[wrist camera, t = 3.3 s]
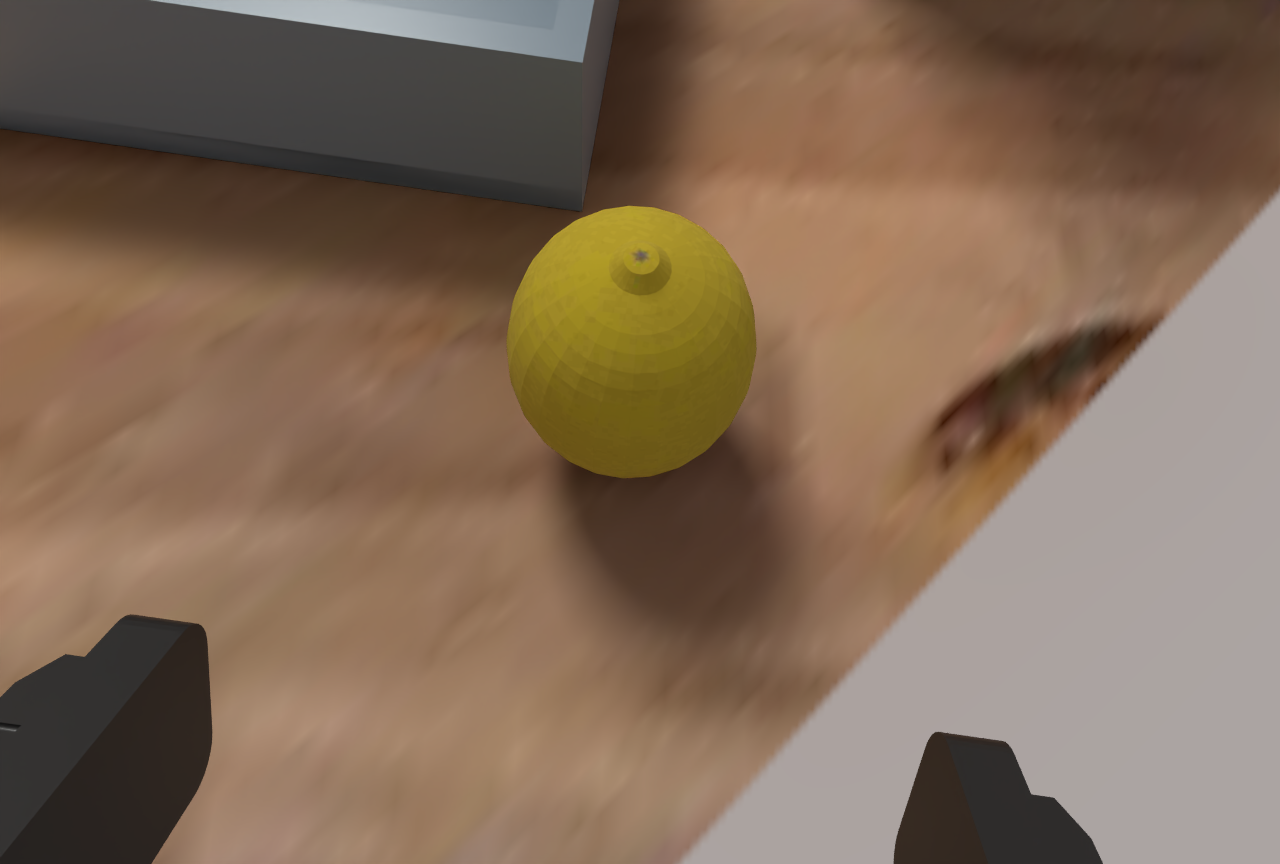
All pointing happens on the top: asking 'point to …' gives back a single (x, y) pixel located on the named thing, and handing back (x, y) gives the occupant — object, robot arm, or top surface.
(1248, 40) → the top surface
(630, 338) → the lemon
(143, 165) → the top surface
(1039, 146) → the top surface
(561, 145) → the tote
